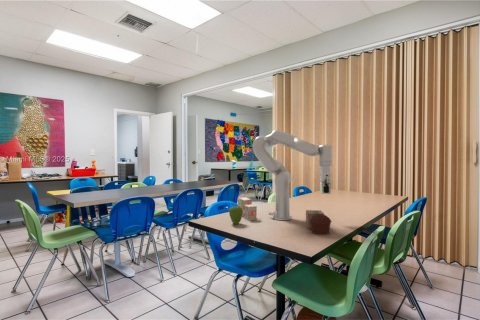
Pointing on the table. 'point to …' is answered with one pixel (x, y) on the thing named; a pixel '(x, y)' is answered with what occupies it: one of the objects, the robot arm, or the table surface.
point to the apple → (236, 214)
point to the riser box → (309, 214)
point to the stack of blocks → (247, 208)
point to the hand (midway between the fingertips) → (325, 191)
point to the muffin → (320, 224)
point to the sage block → (323, 188)
